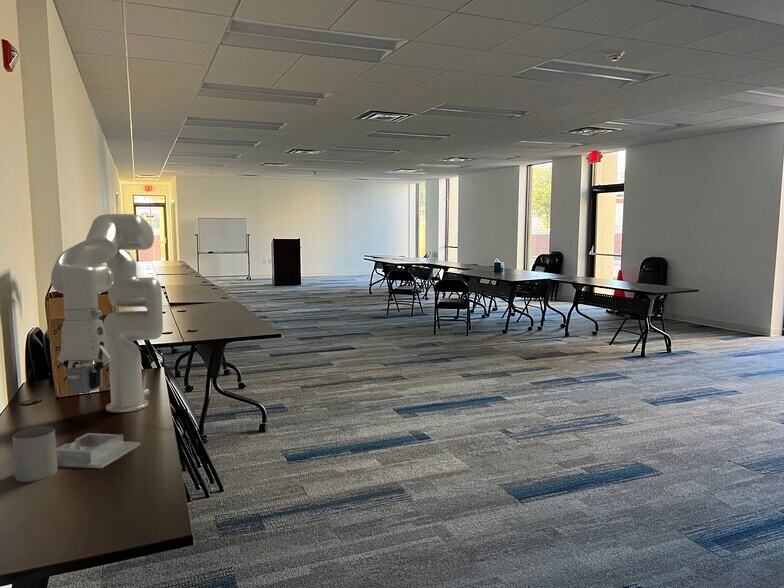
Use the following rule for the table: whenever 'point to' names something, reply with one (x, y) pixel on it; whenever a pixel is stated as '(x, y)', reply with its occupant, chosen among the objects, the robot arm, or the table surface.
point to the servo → (80, 379)
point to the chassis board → (94, 450)
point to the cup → (34, 454)
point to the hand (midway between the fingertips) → (85, 386)
